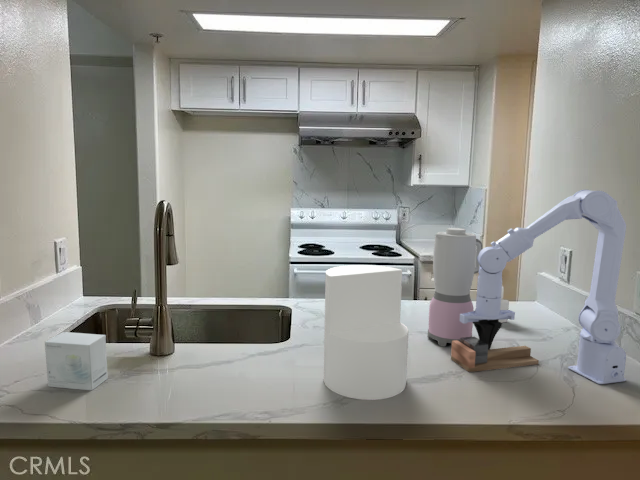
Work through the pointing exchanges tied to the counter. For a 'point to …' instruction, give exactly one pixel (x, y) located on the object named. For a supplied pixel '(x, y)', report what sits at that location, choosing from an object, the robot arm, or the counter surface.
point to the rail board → (501, 363)
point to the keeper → (477, 348)
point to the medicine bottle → (504, 305)
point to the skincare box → (76, 360)
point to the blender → (452, 284)
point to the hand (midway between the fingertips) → (485, 348)
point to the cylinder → (364, 332)
